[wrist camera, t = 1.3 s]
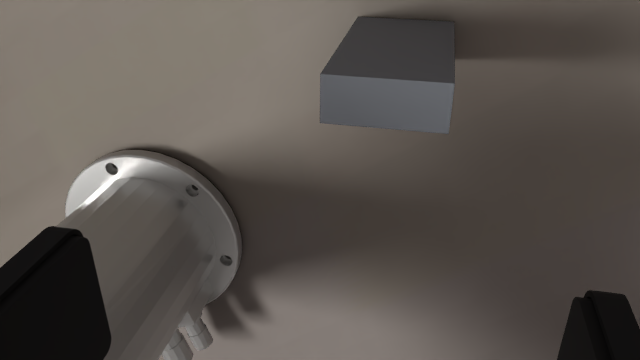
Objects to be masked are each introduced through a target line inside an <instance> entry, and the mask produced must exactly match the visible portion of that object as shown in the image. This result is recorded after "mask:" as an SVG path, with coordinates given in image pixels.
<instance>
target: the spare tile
mask: <svg viewBox="0 0 640 360" xmlns="http://www.w3.org/2000/svg"><path fill="white" fill-rule="evenodd" d="M454 86H455V55H454V22H450V21H431V20H412V19H393V18H374V17H358V18H357V19H356V21H355V22H354V24H353V25H352V27H351V28H350V30H349V31H348V33H347V34H346V36H345V37H344V39H343V40H342V42H341V43H340V45H339V46H338V48H337V50H336V51H335V53H334V54H333V56H332V57H331V59H330V60H329V62H328V63H327V65H326V66H325V68H324V69H323V71H322V72H321V74H320V123H327V124H338V125H350V126H362V127H373V128H385V129H396V130H408V131H420V132H431V133H443V134H449V126H450V118H451V110H452V102H453V94H454Z"/></svg>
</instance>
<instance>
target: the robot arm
mask: <svg viewBox="0 0 640 360" xmlns="http://www.w3.org/2000/svg"><path fill="white" fill-rule="evenodd" d="M241 255H242V238H241V234H240V230H239V225H238V222H237V220H236V218H235V216H234V213H233V211H232V209H231V207H230V206H229V204H228V203H227V201H226V200H225V198H224V197H223V196H222V194H221V193H220V192H219V191H218V190H217V189H216V188H215V187H214V185H213V184H212V183H211V182H210V181H209V180H208V179H206V178H205V177H204V176H202V175H201V174H200V173H199V172H197V171H196V170H195V169H193V168H192V167H190V166H188V165H186V164H184V163H182V162H181V161H179V160H177V159H174V158H172V157H169V156H166V155H163V154H160V153H156V152H151V151H145V150H122V151H118V152H113V153H109V154H107V155H105V156H103V157H101V158H98V159H96V160H95V161H94V162H93V163H91V164H90V165H89V166H87V167H86V168H85V169H83V170H82V172H81V173H80V174H79V175H78V176H77V177H76V178H75V179H74V181H73V183H72V185H71V187H70V189H69V191H68V195H67V199H66V203H65V219H64V220H63V221H62V222H61V223H60V224H58V225H57V226H56V227H54V226H51V227H48V228H46V229H44V230H43V231H42V232H41V233H40V234H39V235H37V236H36V237H35V238H34V239H33V240H32V241H31V242H29V243H28V244H27V245H26V246H25V247H24V248H23V249H21V250H20V251H19V252H18V253H17V254H16V255H15V256H13V257H12V258H11V259H10V260H9V261H8V262H7V263H5V264H4V265H3V266H2V267H1V268H0V360H158V359H159V358H160V356H161V354H162V356H163V358H164V359H165V360H191V359H192V357H193V352H192V351H191V349H190V347H189V345H188V343H187V342H186V340H185V338H184V336H183V334H182V333H180V331H179V330H178V328H179V327H185V329H186V331H187V332H188V336H189V338H190V340H191V342H192V344H193V345H194V347H195V349H196V350H203V349H206V348H207V347H209V346H210V345H211V343H212V341H213V338H212V336H211V334H210V332H209V331H208V329H207V327H206V325H205V324H204V323H203V321H202V319H201V318H200V317H201V315H202V310H203V308H204V306H205V305H206V304H208V303H210V302H212V301H213V300H215V299H217V298H218V297H219V296H220V295H221V294H222V293H223V292H224V291H225V290H226V289H227V288H228V286H229V285H230V283H231V282H232V280H233V278H234V276H235V274H236V272H237V270H238V268H239V265H240V260H241ZM557 360H640V329H639V326H638V324H637V321H636V319H635V317H634V314H633V312H632V309H631V307H630V304H629V302H628V300H627V298H626V296H625V295H623V294H617V293H609V292H600V291H592V290H589V291H587V292H586V294H585V296H584V298H580V297H575V298H574V299H573V302H572V305H571V309H570V313H569V317H568V320H567V324H566V328H565V332H564V335H563V339H562V343H561V347H560V350H559V354H558V358H557Z"/></svg>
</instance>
